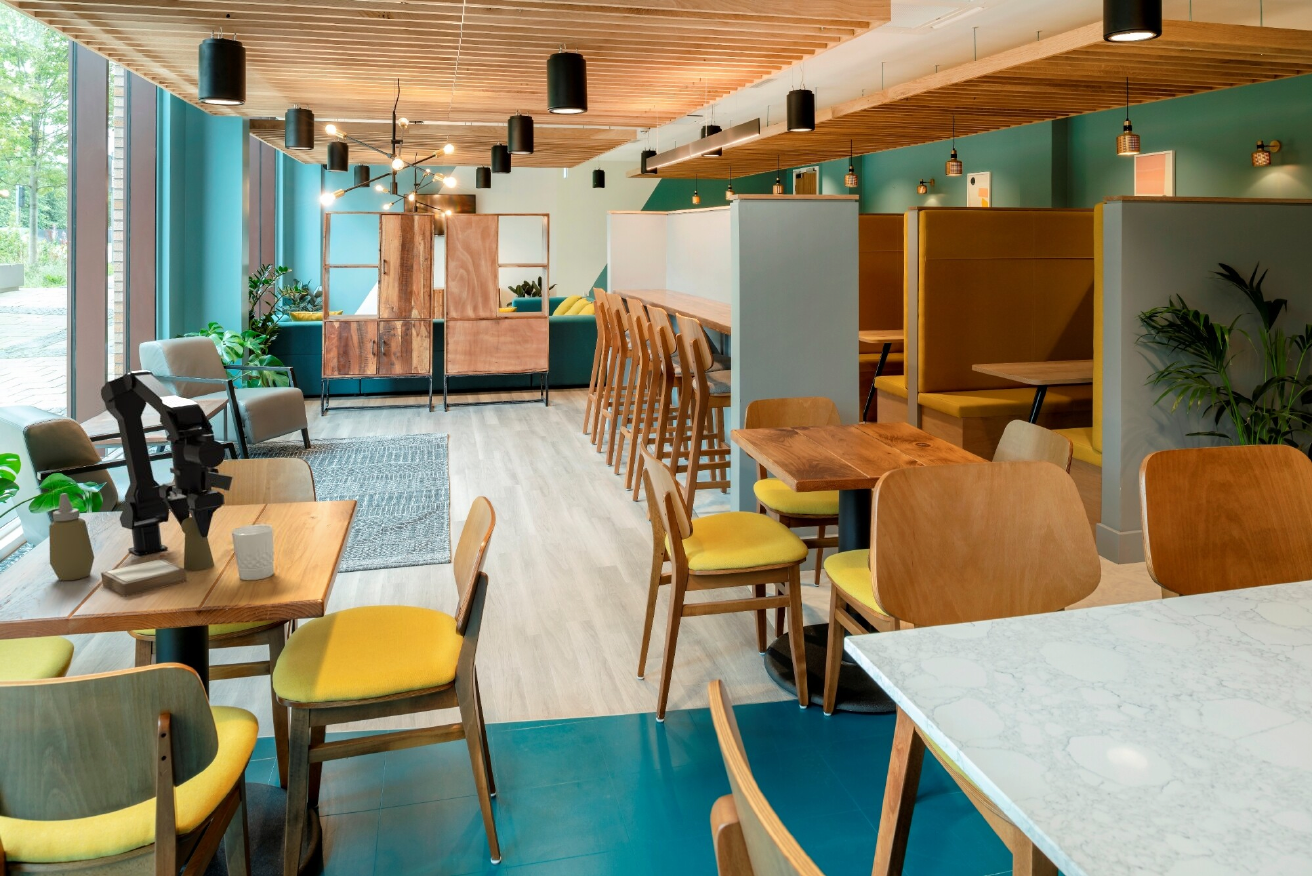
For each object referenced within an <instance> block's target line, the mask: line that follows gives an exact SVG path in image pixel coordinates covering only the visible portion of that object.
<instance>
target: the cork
mask: <svg viewBox="0 0 1312 876" xmlns="http://www.w3.org/2000/svg"><path fill="white" fill-rule="evenodd" d="M180 527H181V531H182V532H183V534H184V550H183V551H184V552H183V568H184V569H186V572H198V571H204V570H208V569H210V568H211V569H212V568H213V567H214V566H215V561H214V558H213V554H212V550H211V545H210V542H209V538H208V536H207V537H202V536H201V535H200V533H199V531H198V529H197V526H196V524H195V522H194V520H193V518H192V516H190V517H189V518H186V519H184V520H183V522H182V524H181V525H180Z"/></svg>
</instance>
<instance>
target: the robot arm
mask: <svg viewBox="0 0 1312 876" xmlns="http://www.w3.org/2000/svg"><path fill="white" fill-rule="evenodd" d="M100 397H101V399H102V401H103V402H104V405H105V408H106V409H105V410H106V411H107V412H108V413H109V414H110V415H111V416H112V417H113V418H114V419H115V420H116V422H117V425H118V430H119V436H120V439H121V444H122V445H121V446H122V451H123V455H124V459H125V464H126V469H127V474H128V478H129V485H128V487H127V489H126V493H125V495H124V500H125V505H124V508H123V510H122V511H121V514H120V517H119V521H120V525H121V527H122V528H125V529H128V530H131V534H132V537H131V538H132V544H133V547H129V548H128V549H127V550H128V551H129V553H133V554H135V555H137V556H142V555H146V554H152V553H155V552H160V551H166V550H168V549H169V547H168V546H167V545H164V544H163V543H162V535H161V528H160V523H166V522H167V523H168V522H169V517H170V512H171V513H172V515H173V517H175V519H176V521H177V522H178V524H179V526H181V524H182V522H183V520H184V519H186V518H189V517H192V518H193V520H194V522H195V524H196V526H197V529H198V531H199V533H200V535H201V536H202V537H207V538H208V536H209V531H210V529H211V528H210V527H211V524H212V519H213V515H214V513H215V512H216V511H217V510H218V509H220V508H221V507H222V506H223V505H225V502H226V501H225V495H224V494H223V493H222V492H220V491H218V490H215V489H221V490H222V489H223V490H224V491H226V492H227V491H229V492H230V489H231V484H232V481H233V479H234V478H233V476H232V475H228V474H224V473H220V472H219V469H218V468H217V467H219V466H220V465H221V464H222V463H223V461H224V460H225V457H226V449H225V448H224V446H223V445H222V443H221V442H219V441H217V440H215V435H214V430H213V425H212V424H211V422H210V420H209V419H208V417H207V416H206V414H205V412H204V410H203V409H202V407H201V406H200V404H199V403H198V402H195V401H193V400H191V399H189V398H184V397H179V396H177V395H176V394H175V393H174V392H172V391H171V390H170V389H169V388H167V387H166V386H165V385H164V384H163V383H162V382H160V381H159V380H158V379H157V378H156V377H155V376H154V374H153V372H152V371H151V370H146V369H145V370H134V371H128V372H126V373H124V374H123V375H122V376H119V377H118V378H114V379H112V380H108V381H106V382H105V384H104V385H103V386H102V387H101V389H100ZM147 404H149V406H151V408H152V409H154V410H155V411H156V412H157V413H158V414H159V422H160V424H161V425H162V426H163V428H164V429H165V430H166V432H167V433H168V435H167V436H166V439H165V440H166V441H169V442H170V447H171V448H170V449H171V458H172V467H169V471H170V472H169V473H170V474H173V477H174V481H173V482H166V483H162V484H161V485H160V484H159V483H158V482H157V481H156V479H155V478H154V473H153V467H152V463H151V458H150V453H149V449H148V444H147V439H146V434H145V430H144V424H143V419H142V416H143V413H144V411H145V409H146V406H147ZM212 488H215V489H212Z"/></svg>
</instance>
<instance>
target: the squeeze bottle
mask: <svg viewBox="0 0 1312 876" xmlns="http://www.w3.org/2000/svg"><path fill="white" fill-rule="evenodd" d="M52 516H53V522H51V523H50V524H49V525H48V528H49V530H48V532H49V533H48V535H49V538H48V539H49V565H50V566H51V568H52V570H53V571H54V574H55V576H57V579H58V580H59V581H74V580H79V579H84V578H86V577H88V576H90V575H91V573H92V568H93V564H94V559H95V555H94V551H93V546H92V543H91V542H92V541H91V538H90V535H89V531H88V526H87V522H86V520H85V519H83V518H81V515H80V510H79V509H78V508H73V505H72V503H71V501H70V498H69V495H68V493H61V494H60V495H59V502H58V510H55V511H53V512H52Z"/></svg>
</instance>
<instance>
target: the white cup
mask: <svg viewBox="0 0 1312 876" xmlns="http://www.w3.org/2000/svg"><path fill="white" fill-rule="evenodd" d="M273 530H274V529H273V526H271V525H269V524H251V525H244V526H240V527H238V528H235V529H233V530H231V536H232V542H233V551H234V557H235V561H236V565H237V572H238V577H239V579H240V580H243V581H257V580H264V579H267V578H269V577H272V576H273V575H274V561H275V558H274V556H275V555H274V553H275V552H274V531H273Z"/></svg>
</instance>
